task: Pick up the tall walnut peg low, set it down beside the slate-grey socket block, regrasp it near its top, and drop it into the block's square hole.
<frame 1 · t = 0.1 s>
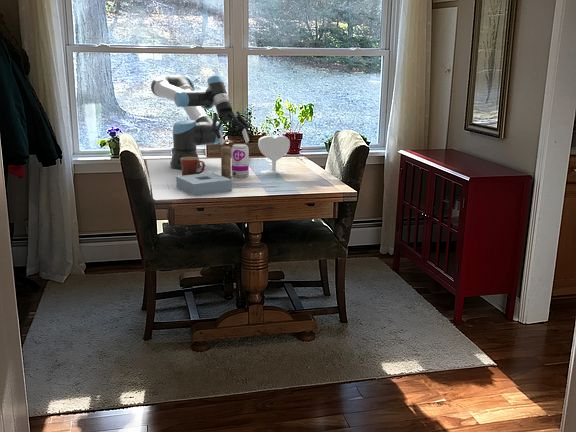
hand: (235, 142, 298), 15 cm above the table, tool tilted 35°, fingers open, 13 cm apart
supplement can: (240, 176, 298), on the table
mug: (193, 180, 287), on the table
heart sculpture: (273, 172, 310), on the table
socket block: (203, 189, 269), on the table
walnut peg: (226, 181, 285), on the table
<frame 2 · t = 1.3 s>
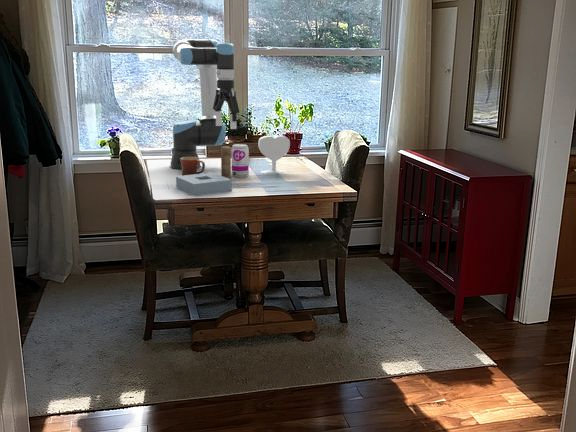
hand: (225, 127, 279), 25 cm above the table, tool pointing down, fingers open, 13 cm apart
nothing on the table moved.
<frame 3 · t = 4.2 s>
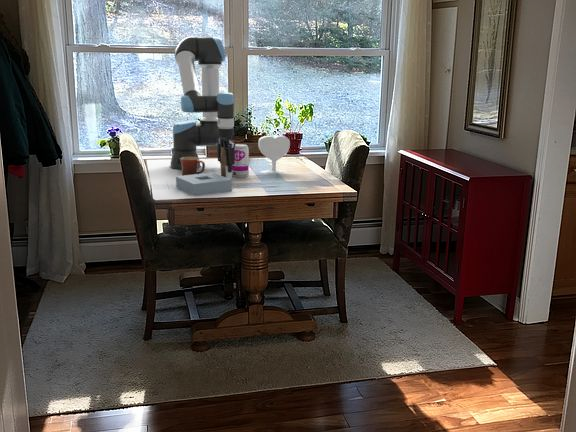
hand: (226, 178, 285), 2 cm above the table, tool pointing down, fingers closed on walnut peg, 4 cm apart
walnut peg: (226, 181, 285), on the table, touching gripper
everything else where it was.
when the fingers open (3 cm above the table, at t = 9.9 s): walnut peg stays where it is, on the table.
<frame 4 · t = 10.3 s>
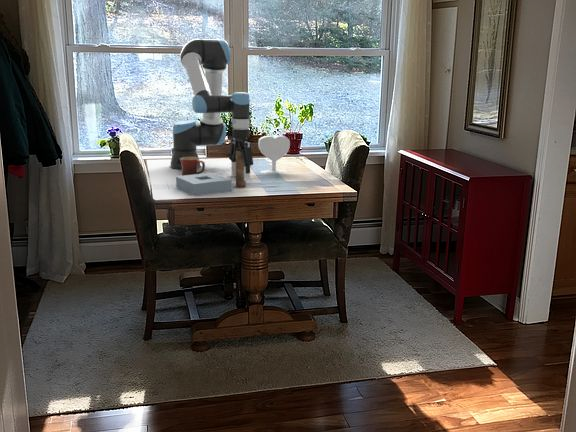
hand: (240, 178, 275), 4 cm above the table, tool pointing down, fingers open, 10 cm apart
walnut peg: (240, 186, 276), on the table
everything else where it was.
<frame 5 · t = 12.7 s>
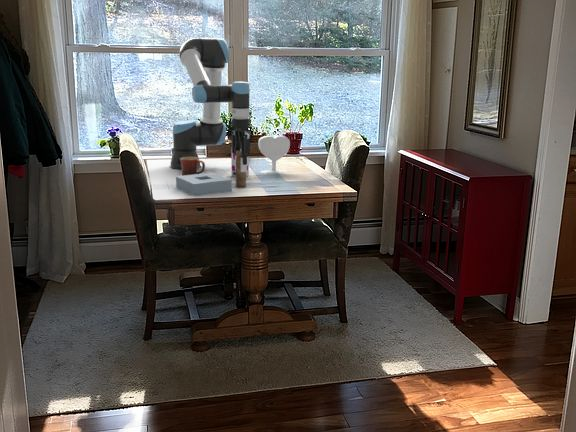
hand: (240, 170, 274), 7 cm above the table, tool pointing down, fingers closed on walnut peg, 4 cm apart
walnut peg: (240, 186, 276), on the table, touching gripper
everything else where it was.
when the fingers open (9 cm above the table, at t = 19.2 s): walnut peg drops 1 cm, resting in socket block.
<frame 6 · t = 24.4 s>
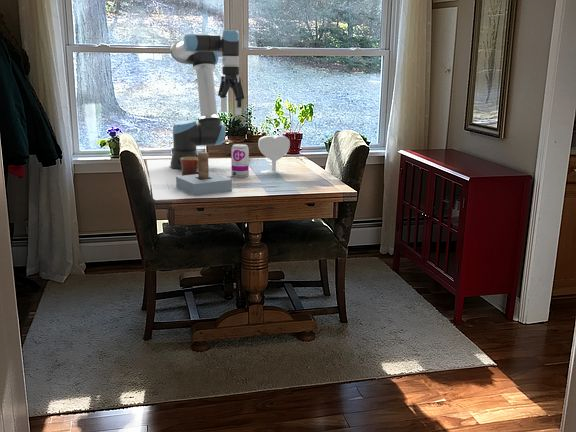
hand: (231, 113, 283), 31 cm above the table, tool pointing down, fingers open, 13 cm apart
walnut peg: (203, 189, 269), resting in socket block
everything else where it was.
at the end: walnut peg 0.0 cm off-centre on the socket block, point 0.0 cm above the socket block's base; walnut peg tilted 0°; the gripper is holding nothing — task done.
